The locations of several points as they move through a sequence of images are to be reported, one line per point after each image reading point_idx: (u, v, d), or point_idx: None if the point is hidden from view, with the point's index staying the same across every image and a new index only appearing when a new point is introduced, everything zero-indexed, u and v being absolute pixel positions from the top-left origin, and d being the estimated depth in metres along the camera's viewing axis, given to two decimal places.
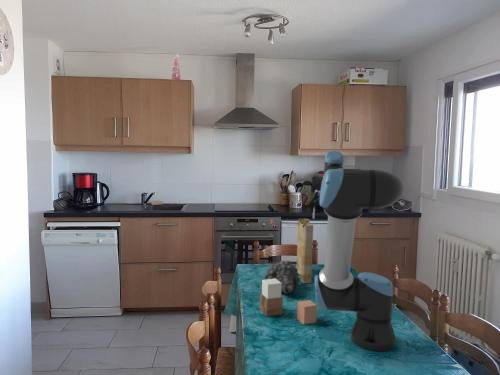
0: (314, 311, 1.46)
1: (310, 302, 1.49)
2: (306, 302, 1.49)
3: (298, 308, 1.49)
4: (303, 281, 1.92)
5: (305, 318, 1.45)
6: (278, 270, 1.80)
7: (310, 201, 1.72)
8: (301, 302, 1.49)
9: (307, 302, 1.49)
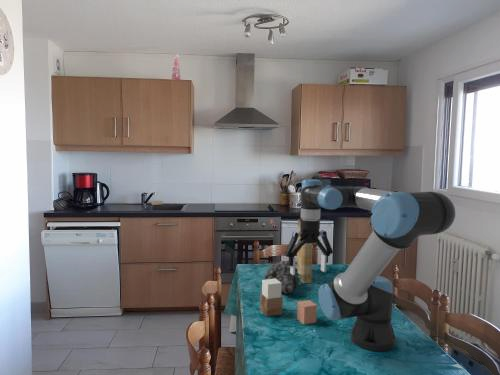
0: (314, 311, 1.46)
1: (310, 302, 1.49)
2: (306, 302, 1.49)
3: (298, 308, 1.49)
4: (303, 281, 1.92)
5: (305, 318, 1.45)
6: (278, 270, 1.80)
7: (290, 247, 1.43)
8: (301, 302, 1.49)
9: (307, 302, 1.49)
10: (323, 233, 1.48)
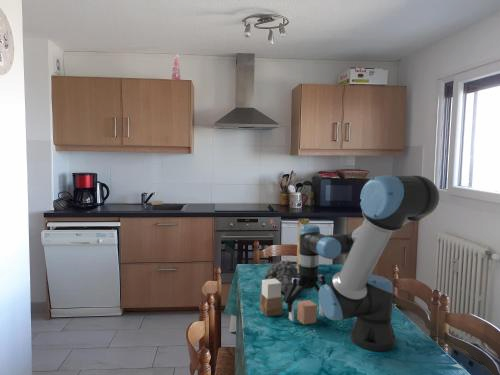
0: (314, 311, 1.46)
1: (310, 302, 1.49)
2: (306, 302, 1.49)
3: (298, 308, 1.49)
4: None
5: (305, 318, 1.45)
6: (278, 270, 1.80)
7: (289, 294, 1.43)
8: (301, 302, 1.49)
9: (307, 302, 1.49)
10: (321, 278, 1.48)
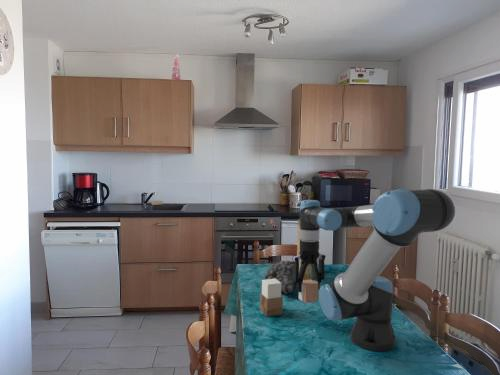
0: (315, 290, 1.45)
1: (311, 281, 1.48)
2: (307, 281, 1.48)
3: None
4: None
5: (306, 296, 1.44)
6: (278, 270, 1.80)
7: (295, 273, 1.43)
8: None
9: (308, 281, 1.48)
10: (322, 256, 1.47)
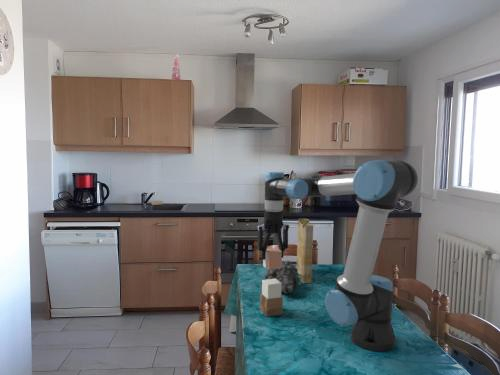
0: (278, 257, 1.52)
1: (275, 249, 1.55)
2: (271, 249, 1.55)
3: None
4: (303, 281, 1.92)
5: (270, 263, 1.51)
6: (278, 270, 1.80)
7: (259, 241, 1.50)
8: (267, 249, 1.55)
9: (272, 249, 1.55)
10: (286, 226, 1.54)
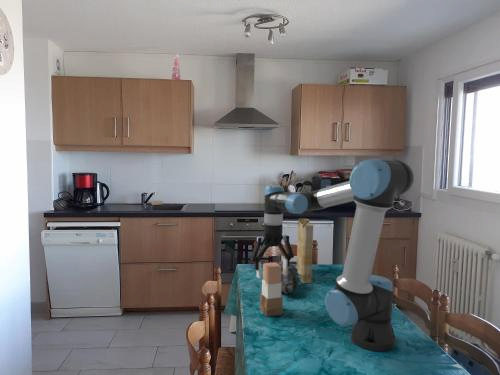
0: (278, 272, 1.53)
1: (275, 264, 1.55)
2: (271, 264, 1.55)
3: (264, 269, 1.55)
4: (303, 281, 1.92)
5: (269, 278, 1.51)
6: None
7: (255, 252, 1.50)
8: (266, 264, 1.55)
9: (272, 264, 1.55)
10: (286, 237, 1.55)
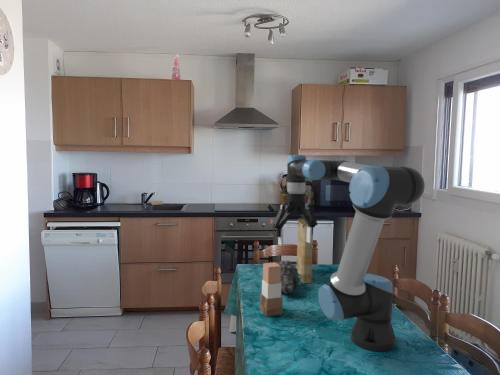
0: (278, 272, 1.53)
1: (275, 264, 1.55)
2: (271, 264, 1.55)
3: (263, 269, 1.55)
4: (303, 281, 1.92)
5: (269, 278, 1.51)
6: None
7: (278, 219, 1.51)
8: (266, 264, 1.55)
9: (272, 264, 1.55)
10: (308, 206, 1.57)
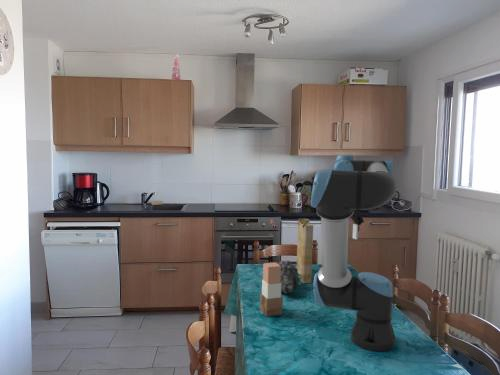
0: (278, 272, 1.53)
1: (275, 264, 1.55)
2: (271, 264, 1.55)
3: (263, 269, 1.55)
4: (303, 281, 1.92)
5: (269, 278, 1.51)
6: None
7: None
8: (266, 264, 1.55)
9: (272, 264, 1.55)
10: None
